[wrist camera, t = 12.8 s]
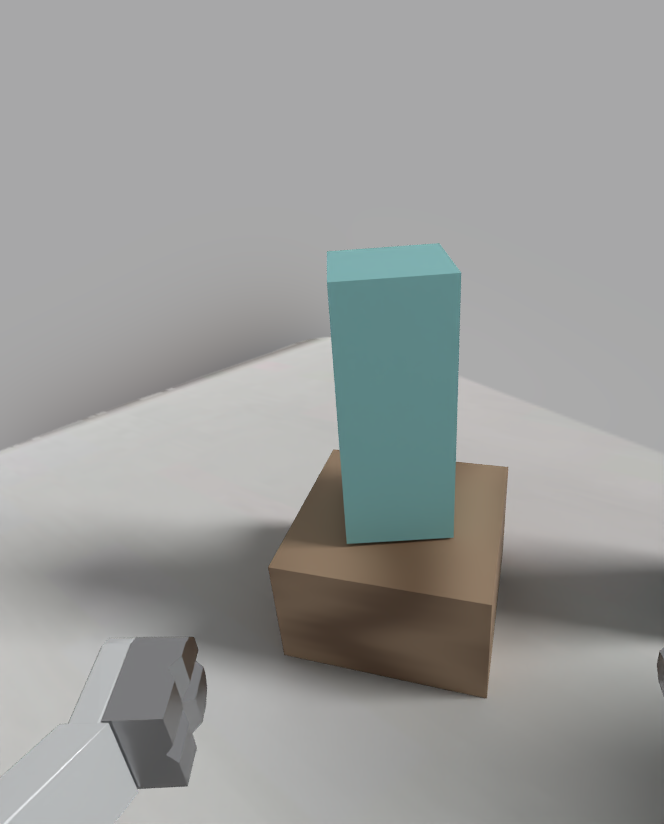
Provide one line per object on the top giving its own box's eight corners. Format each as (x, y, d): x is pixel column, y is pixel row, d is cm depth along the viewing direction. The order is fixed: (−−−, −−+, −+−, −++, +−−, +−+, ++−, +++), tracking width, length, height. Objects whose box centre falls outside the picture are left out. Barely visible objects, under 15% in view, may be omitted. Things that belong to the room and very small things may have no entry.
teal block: (346, 543, 23) (326, 282, 18) (343, 483, 26) (326, 251, 22) (453, 537, 23) (461, 272, 18) (436, 477, 26) (439, 243, 22)
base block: (285, 658, 25) (268, 567, 22) (341, 530, 31) (333, 449, 29) (486, 702, 22) (491, 605, 20) (502, 553, 29) (508, 467, 26)
